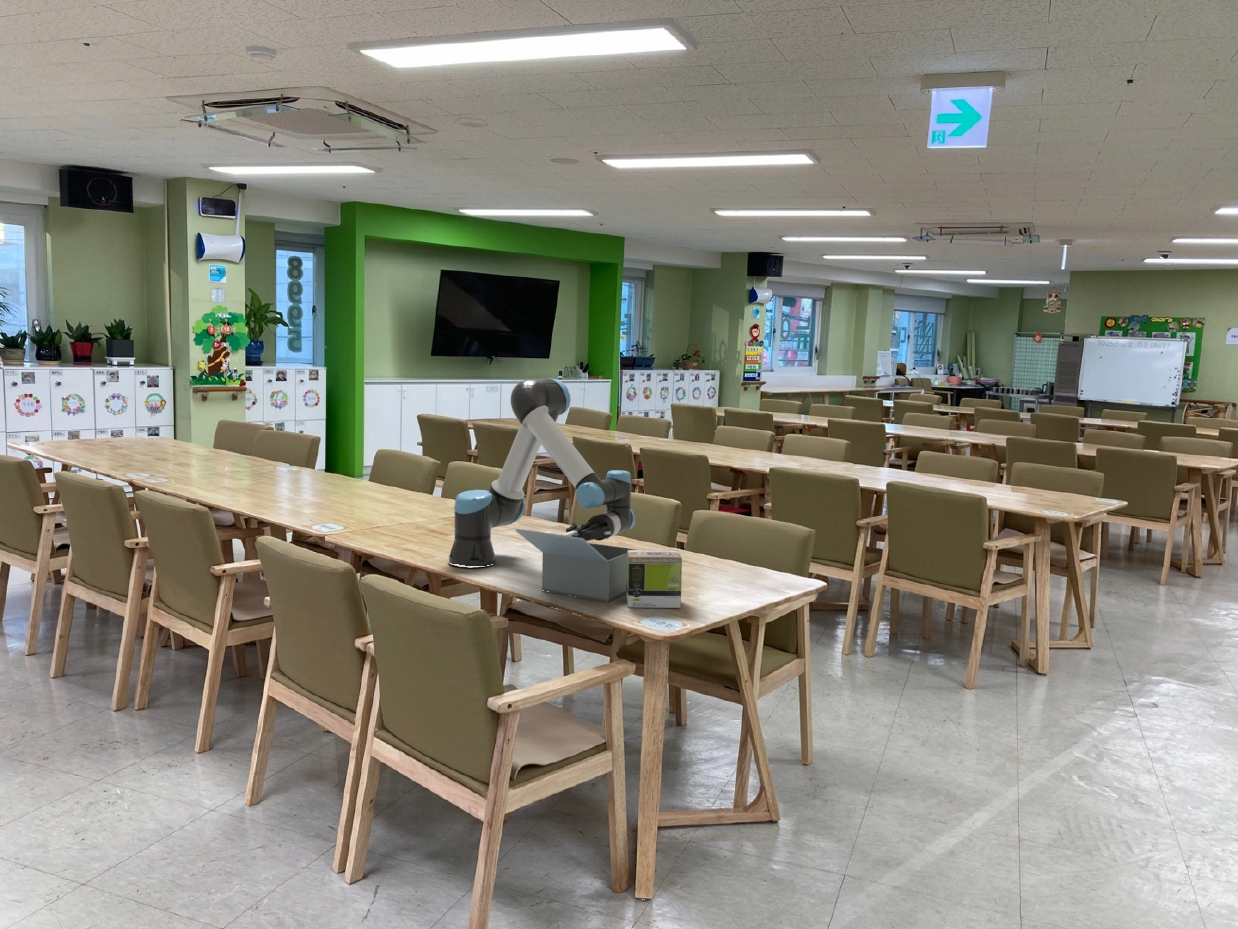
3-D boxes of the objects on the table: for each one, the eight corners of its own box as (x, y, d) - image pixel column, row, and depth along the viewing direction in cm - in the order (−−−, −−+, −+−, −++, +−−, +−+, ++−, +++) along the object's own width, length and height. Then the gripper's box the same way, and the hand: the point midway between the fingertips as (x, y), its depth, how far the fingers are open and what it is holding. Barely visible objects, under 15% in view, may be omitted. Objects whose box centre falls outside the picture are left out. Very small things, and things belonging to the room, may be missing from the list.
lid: (544, 551, 276) (543, 553, 275) (516, 528, 261) (515, 530, 261) (608, 560, 266) (607, 562, 266) (582, 538, 252) (582, 540, 251)
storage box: (541, 591, 277) (542, 551, 276) (572, 578, 293) (573, 540, 292) (608, 602, 268) (609, 561, 266) (636, 588, 283) (637, 549, 282)
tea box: (677, 599, 273) (679, 549, 271) (680, 609, 263) (683, 557, 261) (625, 598, 273) (627, 548, 271) (626, 608, 263) (628, 556, 261)
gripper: (622, 541, 282) (583, 555, 261) (584, 535, 288) (543, 549, 267) (623, 516, 281) (584, 528, 260) (584, 511, 287) (543, 523, 266)
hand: (563, 539), depth 264 cm, fingers closed
